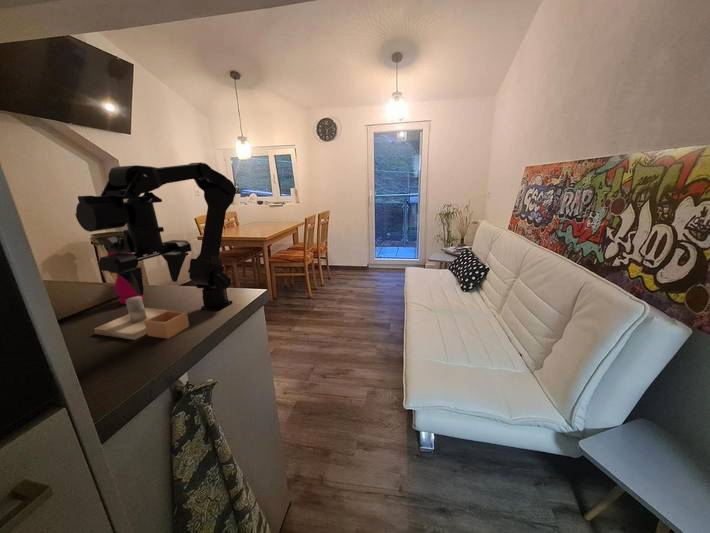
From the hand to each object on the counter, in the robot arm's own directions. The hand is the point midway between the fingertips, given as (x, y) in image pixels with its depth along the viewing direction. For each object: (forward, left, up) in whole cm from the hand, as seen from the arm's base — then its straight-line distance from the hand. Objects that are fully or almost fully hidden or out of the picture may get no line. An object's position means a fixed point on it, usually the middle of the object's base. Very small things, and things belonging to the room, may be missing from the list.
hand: (158, 288), depth 68 cm
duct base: (-1, -11, -12) cm, 16 cm away
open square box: (0, 0, -12) cm, 12 cm away
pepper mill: (-14, -31, -12) cm, 36 cm away
